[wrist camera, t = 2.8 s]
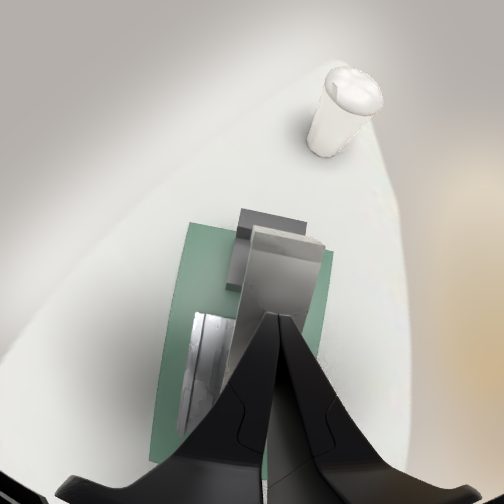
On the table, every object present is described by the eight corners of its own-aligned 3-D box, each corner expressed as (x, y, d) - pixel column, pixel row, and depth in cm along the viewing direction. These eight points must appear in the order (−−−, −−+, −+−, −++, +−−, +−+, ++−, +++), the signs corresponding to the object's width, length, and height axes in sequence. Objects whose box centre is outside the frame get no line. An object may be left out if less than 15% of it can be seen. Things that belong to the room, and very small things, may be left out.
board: (284, 476, 20) (286, 481, 20) (150, 456, 20) (148, 460, 19) (330, 253, 24) (333, 251, 23) (190, 224, 24) (189, 222, 23)
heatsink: (267, 436, 20) (273, 451, 18) (178, 422, 20) (173, 435, 17) (290, 328, 22) (299, 331, 19) (197, 311, 22) (194, 312, 19)
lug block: (272, 298, 22) (295, 294, 15) (225, 289, 22) (226, 280, 15) (281, 248, 23) (306, 222, 16) (235, 239, 23) (241, 208, 16)
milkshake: (282, 138, 26) (311, 61, 16) (324, 117, 27) (362, 47, 17) (313, 176, 25) (358, 110, 16) (354, 152, 26) (405, 89, 17)
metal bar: (237, 488, 15) (236, 515, 13) (200, 483, 15) (196, 510, 12) (312, 237, 12) (327, 247, 10) (253, 224, 12) (255, 232, 9)
